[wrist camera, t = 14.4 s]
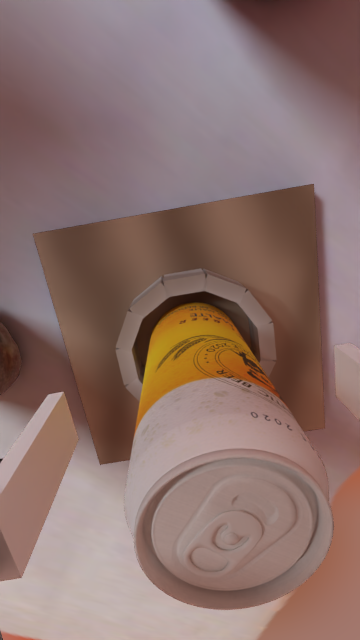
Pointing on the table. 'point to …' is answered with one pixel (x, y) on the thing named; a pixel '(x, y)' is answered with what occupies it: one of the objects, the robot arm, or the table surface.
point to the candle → (8, 359)
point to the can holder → (188, 298)
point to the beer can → (221, 471)
